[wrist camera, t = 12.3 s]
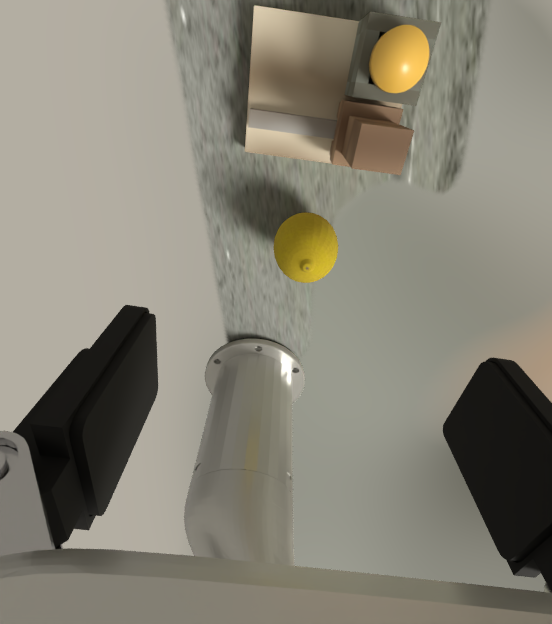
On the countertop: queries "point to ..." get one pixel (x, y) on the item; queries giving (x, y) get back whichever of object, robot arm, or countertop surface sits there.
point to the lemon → (305, 247)
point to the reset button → (399, 59)
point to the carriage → (370, 138)
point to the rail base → (314, 77)
